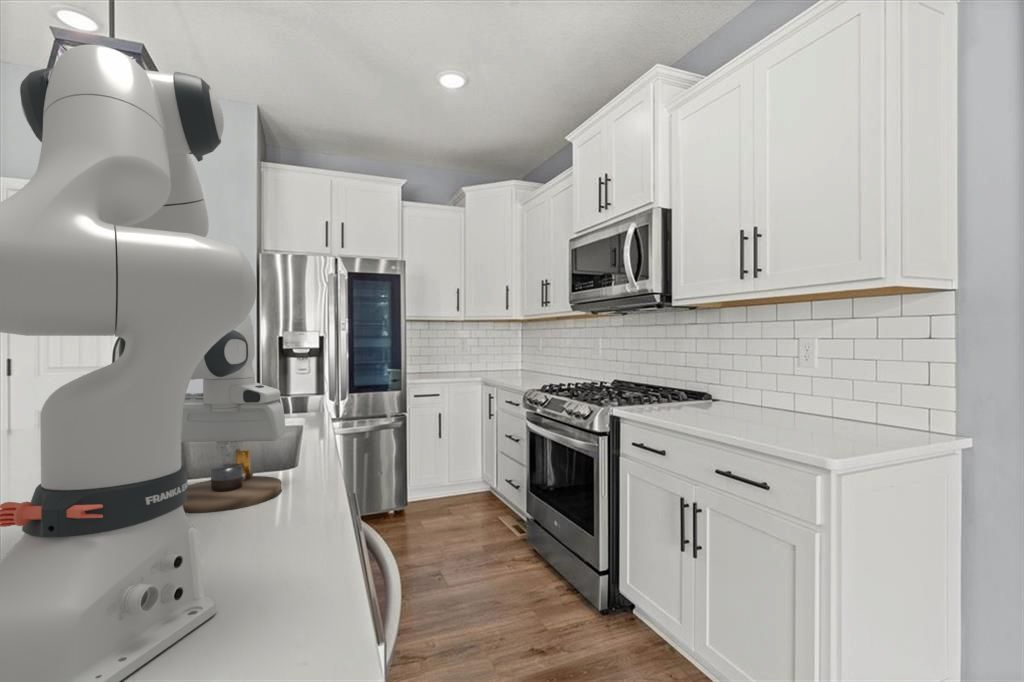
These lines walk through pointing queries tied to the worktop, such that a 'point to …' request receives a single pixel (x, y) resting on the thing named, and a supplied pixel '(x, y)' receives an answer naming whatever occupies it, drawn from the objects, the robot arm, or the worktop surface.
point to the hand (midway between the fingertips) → (230, 464)
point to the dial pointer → (231, 472)
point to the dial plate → (231, 495)
